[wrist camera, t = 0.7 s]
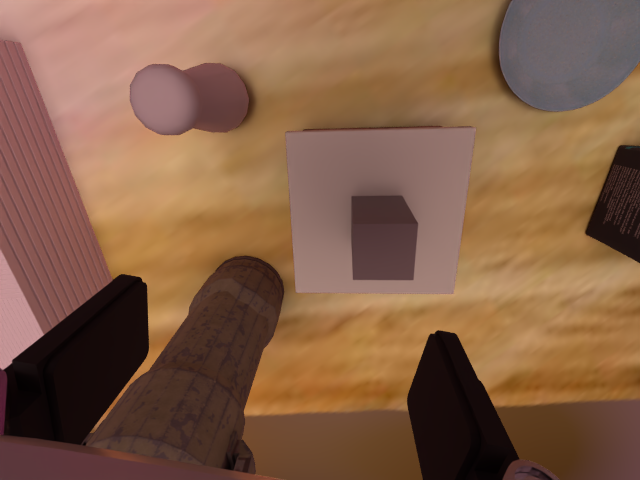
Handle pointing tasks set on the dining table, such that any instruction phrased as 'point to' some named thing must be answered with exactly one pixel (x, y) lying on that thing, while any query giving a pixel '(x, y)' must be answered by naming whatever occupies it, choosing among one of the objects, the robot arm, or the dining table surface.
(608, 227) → the tampon box
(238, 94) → the salt shaker
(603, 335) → the dining table surface
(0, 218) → the pink rectangular block
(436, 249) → the lid
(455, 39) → the dining table surface
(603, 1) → the saucer
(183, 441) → the thermos
